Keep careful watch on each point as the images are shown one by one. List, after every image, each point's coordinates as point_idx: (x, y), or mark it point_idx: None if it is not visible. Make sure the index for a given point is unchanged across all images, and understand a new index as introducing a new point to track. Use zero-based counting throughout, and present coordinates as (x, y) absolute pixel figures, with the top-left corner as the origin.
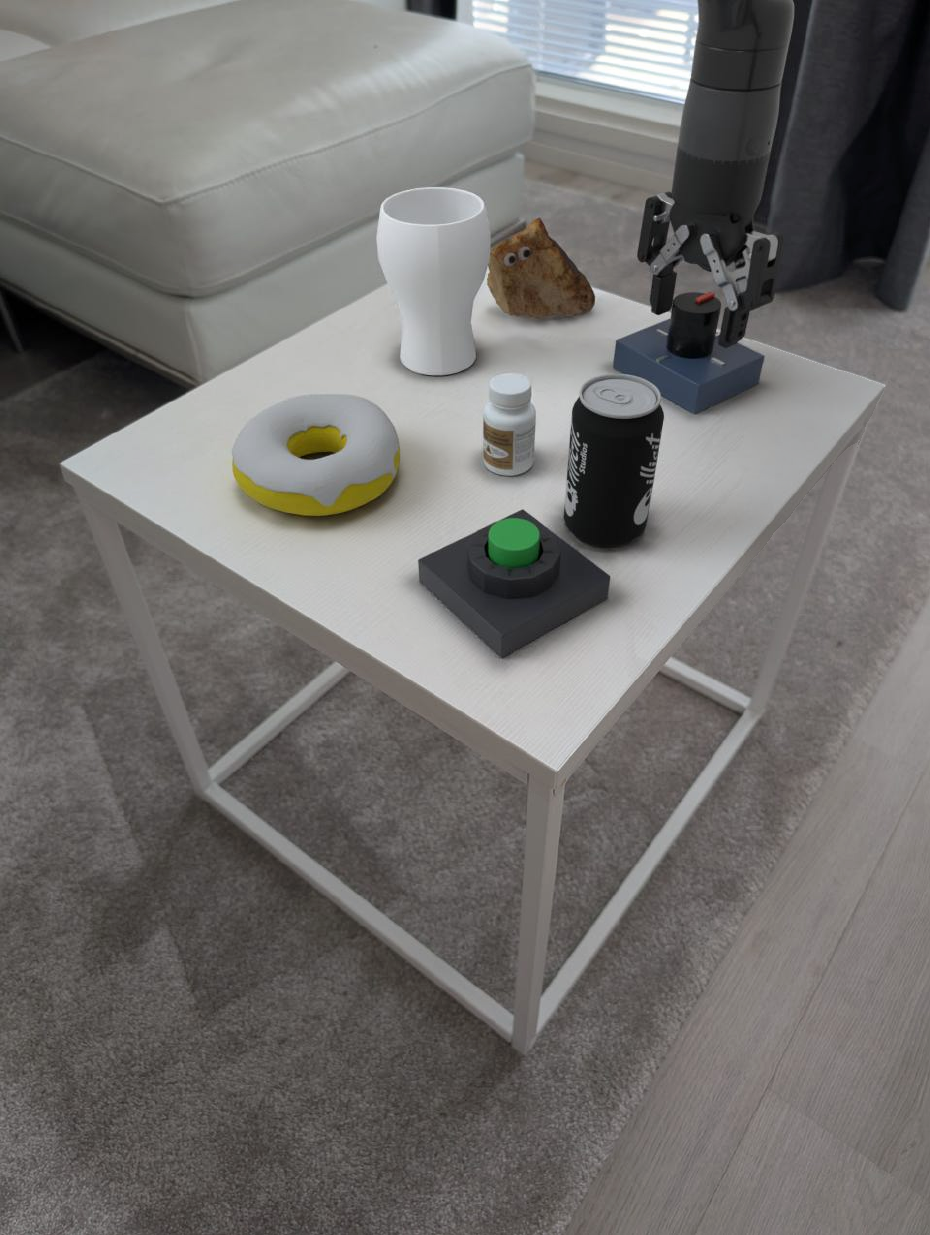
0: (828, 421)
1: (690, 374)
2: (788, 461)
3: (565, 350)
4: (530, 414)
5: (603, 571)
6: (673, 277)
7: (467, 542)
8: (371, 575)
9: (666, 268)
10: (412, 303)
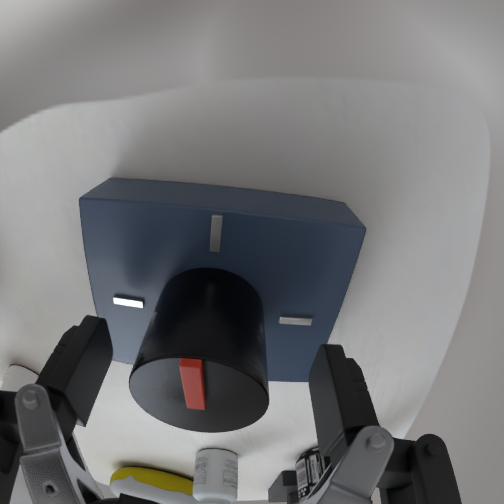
0: (466, 229)
1: (279, 372)
2: (437, 333)
3: (56, 323)
4: (234, 499)
5: None
6: (72, 392)
7: (278, 496)
8: (247, 493)
9: (66, 431)
10: None
